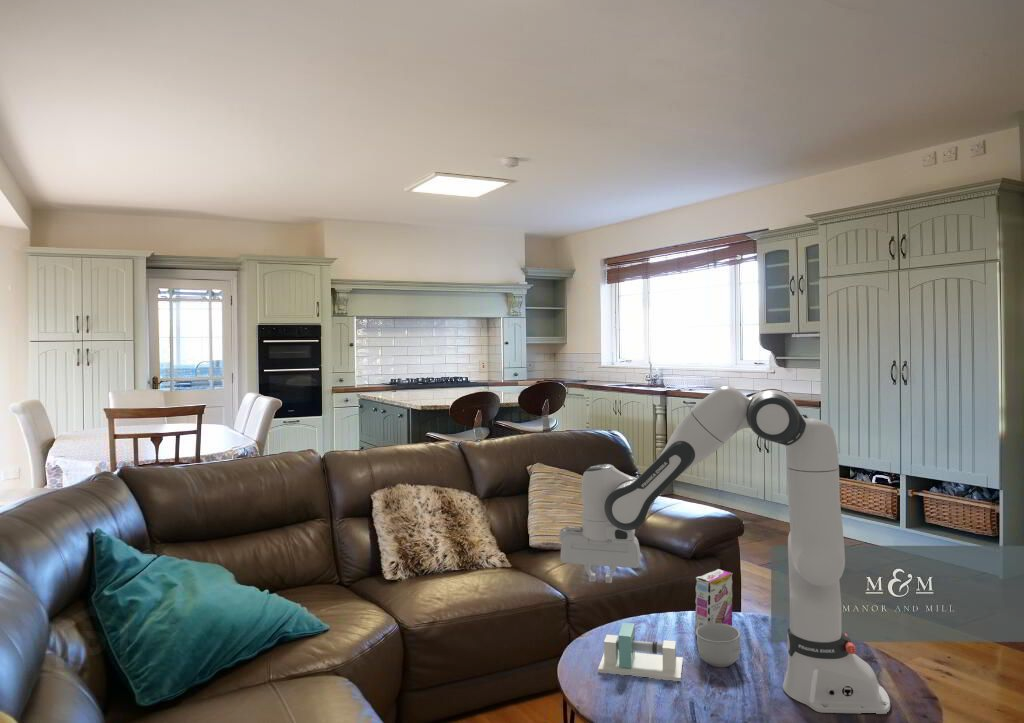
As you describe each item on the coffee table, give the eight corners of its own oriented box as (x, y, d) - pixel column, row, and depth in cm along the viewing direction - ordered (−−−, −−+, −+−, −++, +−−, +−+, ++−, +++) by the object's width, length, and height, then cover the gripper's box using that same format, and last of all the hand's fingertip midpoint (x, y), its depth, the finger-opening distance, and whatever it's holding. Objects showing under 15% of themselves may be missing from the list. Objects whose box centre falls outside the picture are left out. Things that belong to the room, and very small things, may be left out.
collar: (635, 653, 187) (634, 623, 187) (631, 668, 179) (630, 636, 179) (623, 652, 188) (622, 622, 188) (619, 666, 180) (618, 635, 180)
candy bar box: (710, 641, 196) (709, 582, 195) (694, 635, 200) (694, 577, 199) (733, 629, 203) (733, 572, 203) (718, 624, 207) (718, 567, 206)
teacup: (742, 673, 178) (742, 641, 178) (697, 670, 180) (697, 638, 180) (736, 648, 192) (736, 618, 192) (694, 645, 194) (694, 616, 194)
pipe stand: (683, 661, 185) (682, 635, 185) (680, 681, 175) (680, 654, 174) (605, 652, 191) (604, 628, 190) (598, 672, 180) (597, 646, 180)
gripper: (556, 529, 184) (558, 582, 184) (638, 533, 178) (639, 589, 179) (562, 522, 190) (563, 574, 190) (641, 526, 184) (641, 580, 185)
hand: (600, 581), depth 184 cm, fingers open, 3 cm apart
